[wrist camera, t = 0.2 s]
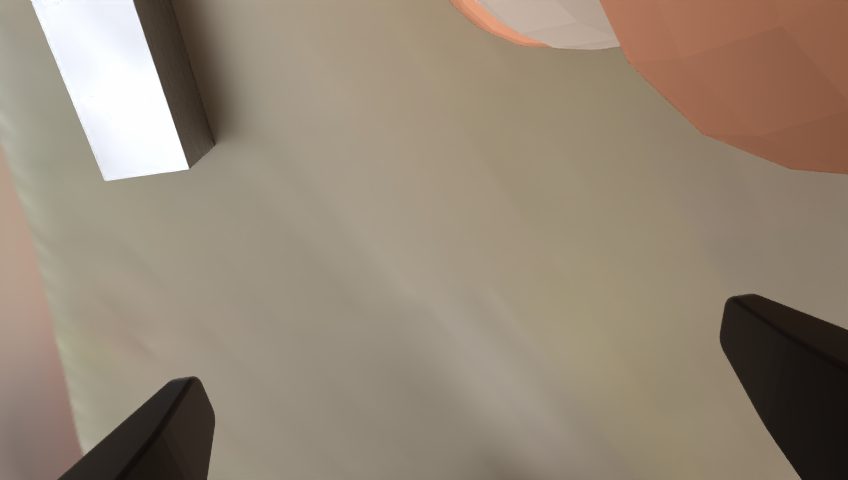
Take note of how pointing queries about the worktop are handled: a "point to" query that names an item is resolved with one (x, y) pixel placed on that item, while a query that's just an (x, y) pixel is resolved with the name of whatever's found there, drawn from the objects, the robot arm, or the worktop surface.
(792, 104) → the salt shaker
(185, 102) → the steel bar
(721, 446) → the worktop surface
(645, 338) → the worktop surface
